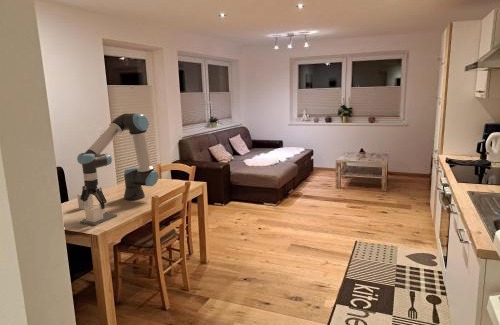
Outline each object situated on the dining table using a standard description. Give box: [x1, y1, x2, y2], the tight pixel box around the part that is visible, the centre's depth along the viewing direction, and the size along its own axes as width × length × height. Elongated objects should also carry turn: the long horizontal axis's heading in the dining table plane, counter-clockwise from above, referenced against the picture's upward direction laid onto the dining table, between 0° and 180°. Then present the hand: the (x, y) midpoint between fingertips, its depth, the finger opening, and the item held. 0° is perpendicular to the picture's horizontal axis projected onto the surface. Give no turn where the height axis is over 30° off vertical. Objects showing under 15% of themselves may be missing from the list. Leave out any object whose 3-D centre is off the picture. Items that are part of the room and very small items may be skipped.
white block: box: [84, 204, 103, 222], centre depth 219 cm, size 7×7×8 cm
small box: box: [77, 192, 94, 210], centre depth 247 cm, size 8×6×10 cm
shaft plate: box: [79, 212, 118, 227], centre depth 222 cm, size 18×12×6 cm, turn 154°
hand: (94, 212), depth 219 cm, fingers open, 13 cm apart
